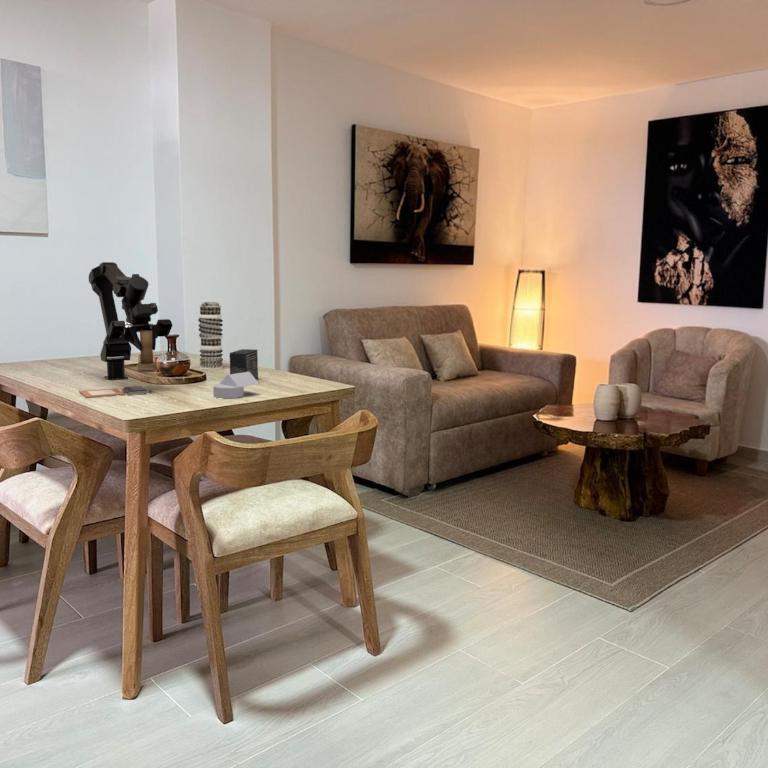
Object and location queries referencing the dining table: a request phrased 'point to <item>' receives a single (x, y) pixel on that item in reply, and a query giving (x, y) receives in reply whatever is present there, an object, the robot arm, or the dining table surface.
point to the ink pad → (135, 390)
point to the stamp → (146, 352)
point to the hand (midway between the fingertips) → (148, 349)
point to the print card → (101, 393)
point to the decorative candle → (210, 336)
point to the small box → (244, 362)
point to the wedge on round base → (234, 385)
